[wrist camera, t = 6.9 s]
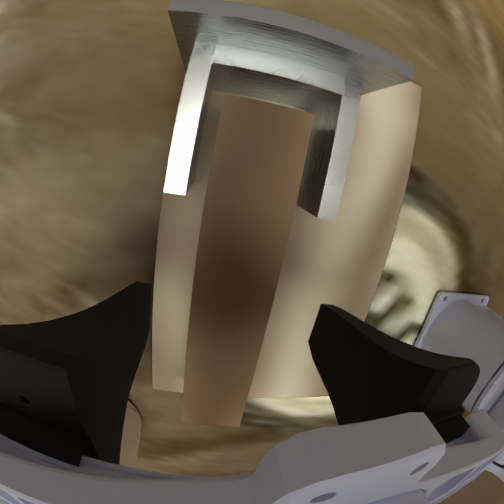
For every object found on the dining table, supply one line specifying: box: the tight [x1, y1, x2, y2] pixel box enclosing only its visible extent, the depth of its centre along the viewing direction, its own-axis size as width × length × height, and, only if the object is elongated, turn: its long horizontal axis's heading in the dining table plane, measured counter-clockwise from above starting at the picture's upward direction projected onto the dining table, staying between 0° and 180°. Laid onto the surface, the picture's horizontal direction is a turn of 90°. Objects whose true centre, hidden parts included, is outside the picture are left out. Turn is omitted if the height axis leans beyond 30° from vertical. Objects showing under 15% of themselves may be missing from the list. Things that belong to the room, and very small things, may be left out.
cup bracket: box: [164, 0, 415, 221], centre depth 10 cm, size 8×6×7 cm
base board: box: [152, 72, 421, 398], centre depth 16 cm, size 14×24×1 cm, turn 169°
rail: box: [182, 94, 314, 427], centre depth 14 cm, size 4×17×4 cm, turn 169°
